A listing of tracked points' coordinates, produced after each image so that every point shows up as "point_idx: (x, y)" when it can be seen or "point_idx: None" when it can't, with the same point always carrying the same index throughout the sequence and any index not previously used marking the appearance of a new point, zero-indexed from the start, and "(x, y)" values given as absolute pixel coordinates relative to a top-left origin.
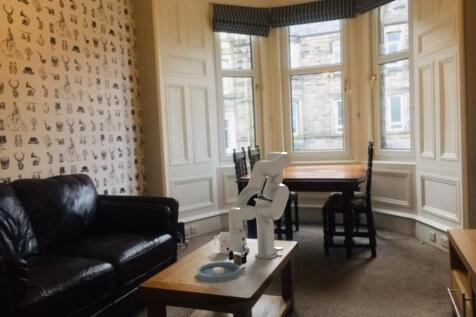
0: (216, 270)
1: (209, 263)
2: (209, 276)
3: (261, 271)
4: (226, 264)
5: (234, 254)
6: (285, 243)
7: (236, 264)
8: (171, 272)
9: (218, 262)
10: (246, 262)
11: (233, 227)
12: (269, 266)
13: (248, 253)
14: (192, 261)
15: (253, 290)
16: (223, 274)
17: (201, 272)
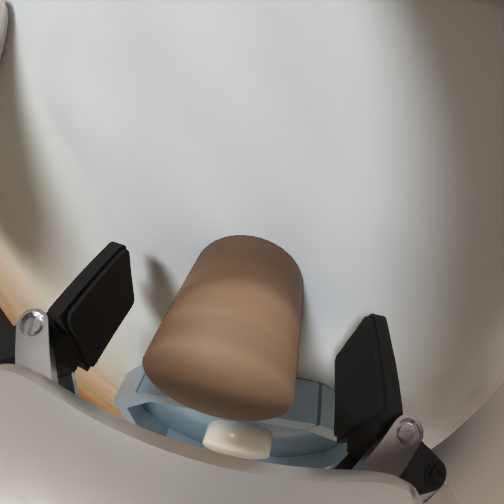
0: (241, 457)
1: (121, 405)
2: None
3: (499, 348)
4: None
5: (145, 370)
6: None
7: (311, 425)
8: (80, 391)
9: (145, 400)
10: (382, 320)
11: None
12: None
13: (441, 465)
14: (6, 296)
15: (435, 445)
16: (279, 440)
17: (164, 423)
